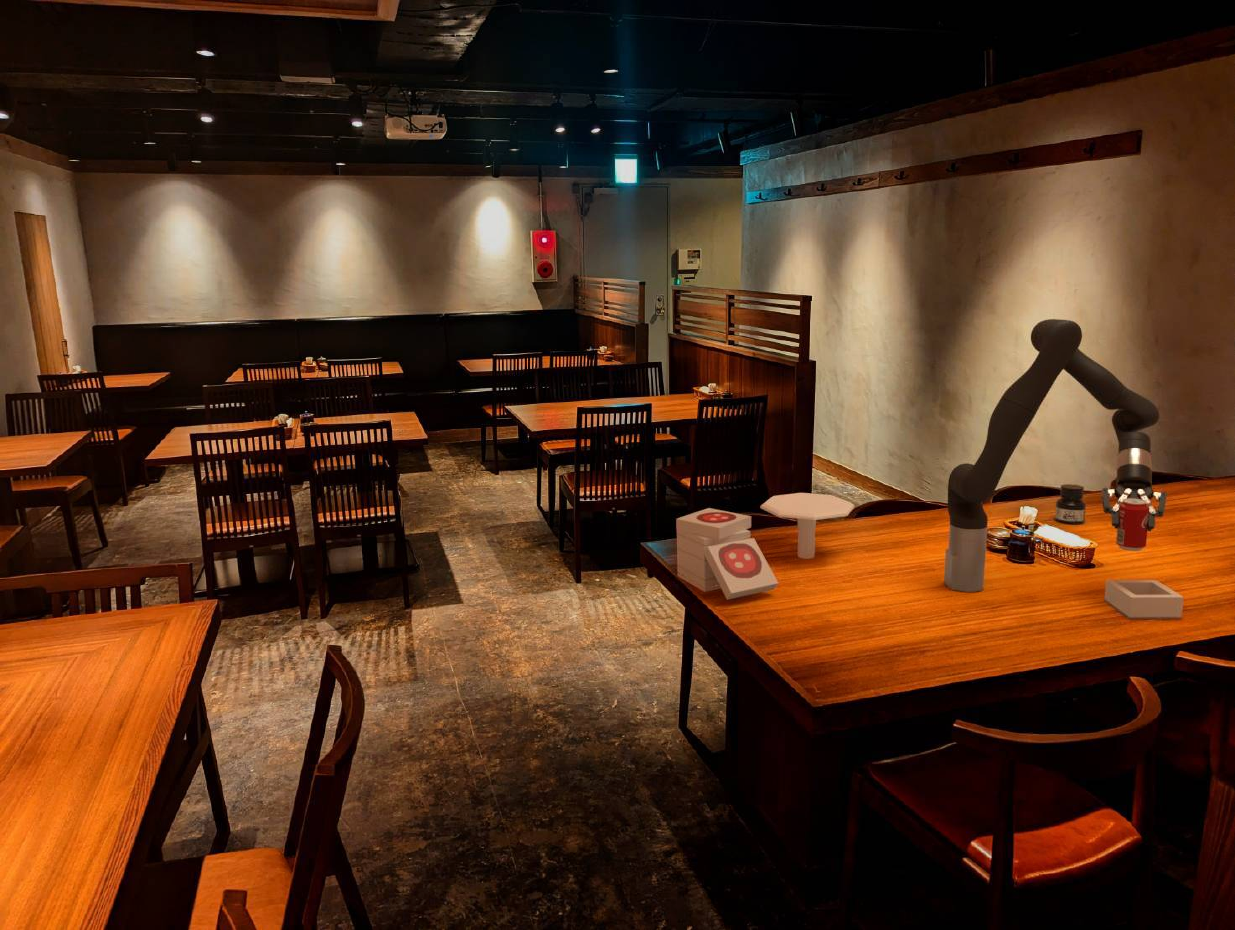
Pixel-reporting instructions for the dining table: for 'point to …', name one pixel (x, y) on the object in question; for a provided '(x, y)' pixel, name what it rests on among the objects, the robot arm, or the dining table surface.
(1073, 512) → the ink bottle
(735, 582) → the pizza boxes
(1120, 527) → the beverage can
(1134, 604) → the well holder
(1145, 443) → the robot arm
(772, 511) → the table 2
